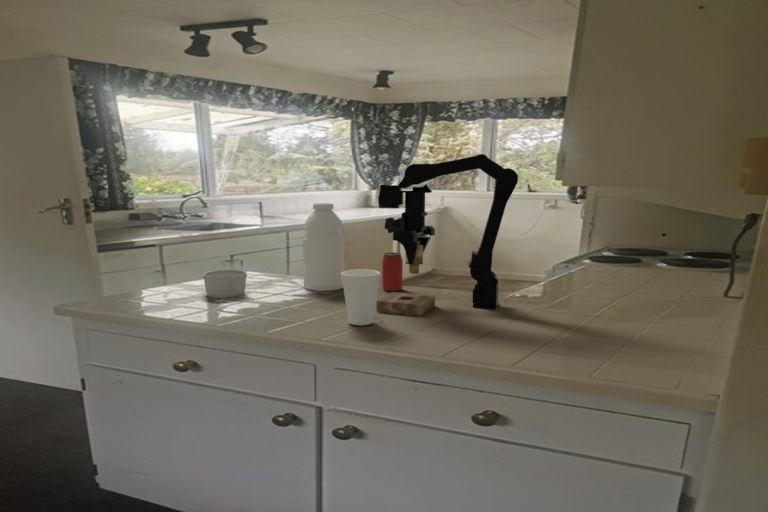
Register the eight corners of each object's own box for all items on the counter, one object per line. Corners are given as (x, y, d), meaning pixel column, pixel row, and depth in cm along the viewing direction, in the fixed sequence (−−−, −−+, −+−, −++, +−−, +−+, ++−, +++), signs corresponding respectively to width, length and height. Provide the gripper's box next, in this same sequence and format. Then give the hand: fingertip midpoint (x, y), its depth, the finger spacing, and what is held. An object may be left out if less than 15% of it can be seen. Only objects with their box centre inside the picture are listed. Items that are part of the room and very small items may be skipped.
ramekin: (256, 293, 169) (255, 271, 167) (223, 301, 158) (222, 278, 156) (228, 288, 176) (227, 268, 175) (194, 296, 165) (193, 274, 164)
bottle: (304, 283, 184) (302, 202, 180) (344, 282, 185) (343, 202, 181) (302, 292, 170) (300, 204, 166) (345, 291, 172) (345, 204, 168)
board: (434, 306, 152) (435, 295, 151) (421, 316, 141) (421, 305, 140) (392, 302, 156) (392, 292, 156) (376, 311, 146) (376, 300, 145)
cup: (343, 318, 139) (342, 269, 137) (381, 318, 138) (381, 269, 137) (339, 328, 129) (338, 276, 127) (380, 329, 129) (380, 276, 127)
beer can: (402, 292, 170) (402, 255, 168) (382, 291, 170) (382, 255, 169) (402, 287, 177) (402, 252, 175) (382, 287, 177) (382, 252, 175)
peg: (425, 272, 155) (425, 245, 154) (419, 275, 150) (419, 247, 149) (409, 270, 157) (409, 244, 156) (402, 273, 152) (402, 246, 151)
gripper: (401, 206, 162) (401, 256, 165) (375, 209, 146) (375, 265, 148) (435, 207, 158) (435, 258, 160) (413, 210, 141) (412, 268, 143)
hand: (414, 262), depth 153 cm, fingers closed on peg, 5 cm apart
